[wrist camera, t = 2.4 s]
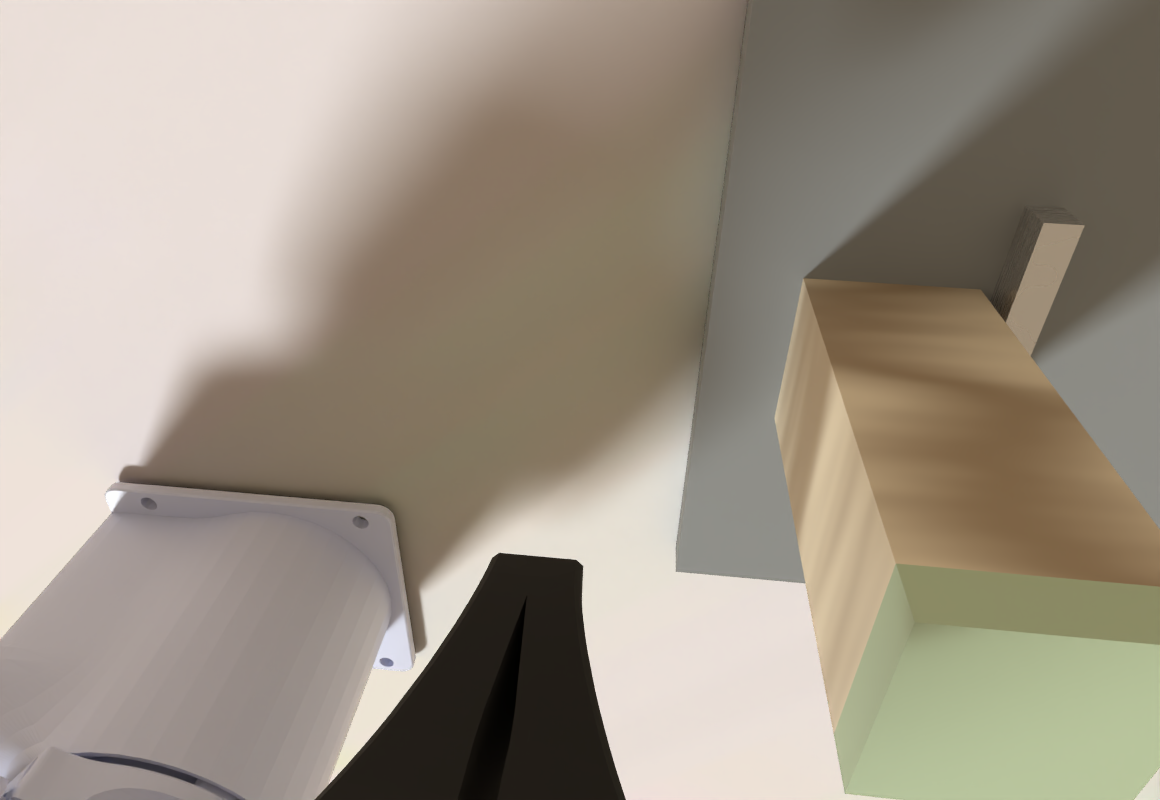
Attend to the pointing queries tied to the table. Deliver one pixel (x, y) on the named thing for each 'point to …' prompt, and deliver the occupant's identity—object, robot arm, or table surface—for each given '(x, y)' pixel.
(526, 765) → the robot arm
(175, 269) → the table surface
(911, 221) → the mat
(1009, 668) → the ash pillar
